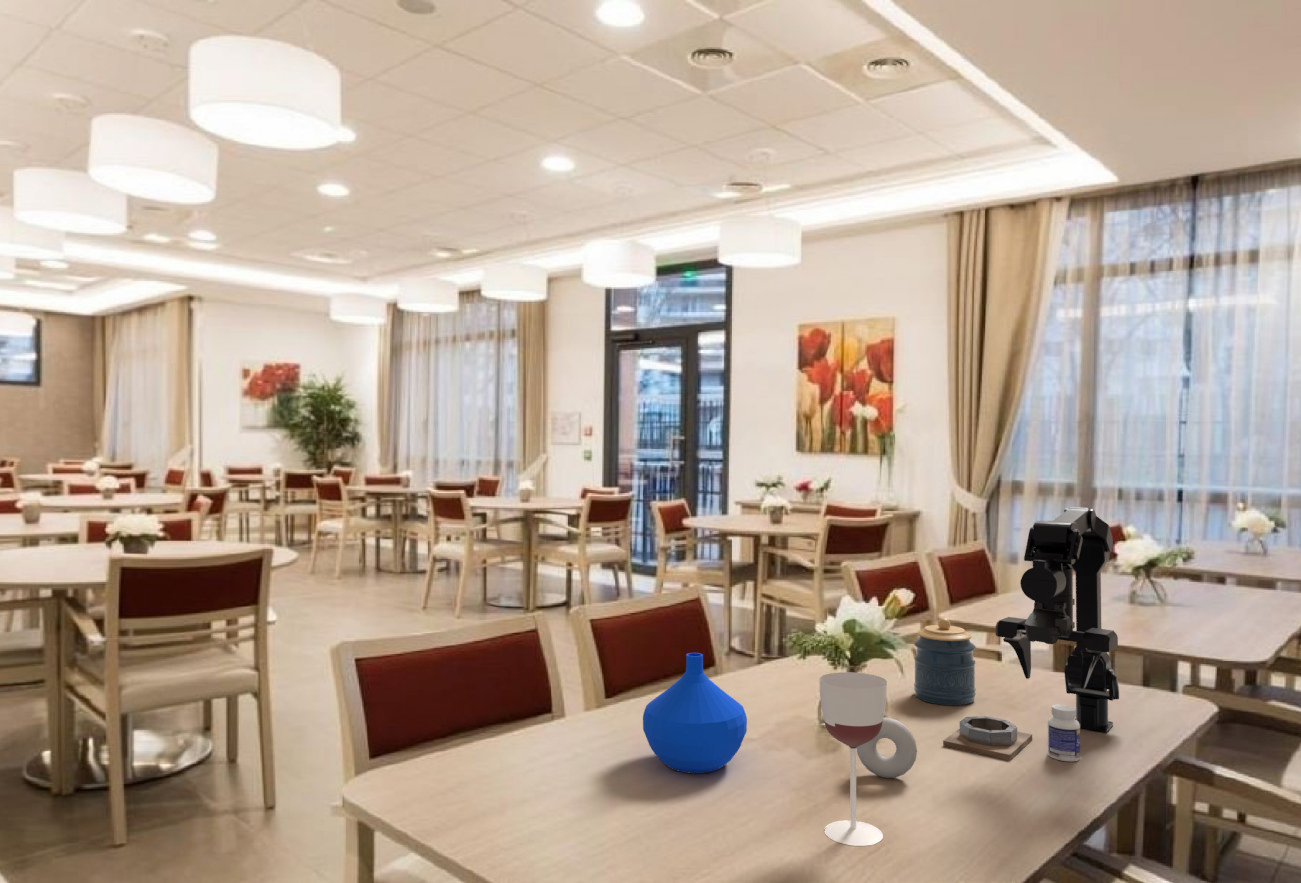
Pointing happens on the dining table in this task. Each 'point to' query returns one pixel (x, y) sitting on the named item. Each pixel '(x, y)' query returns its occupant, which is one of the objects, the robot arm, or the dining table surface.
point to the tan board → (994, 751)
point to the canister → (944, 665)
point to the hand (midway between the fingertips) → (1055, 683)
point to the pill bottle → (1064, 734)
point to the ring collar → (988, 731)
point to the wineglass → (853, 737)
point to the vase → (694, 722)
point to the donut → (902, 756)
